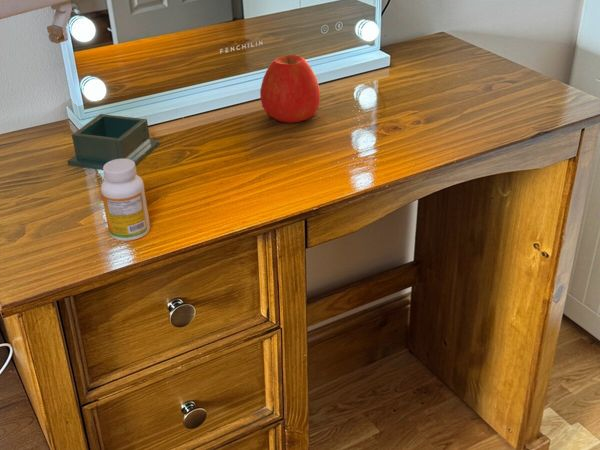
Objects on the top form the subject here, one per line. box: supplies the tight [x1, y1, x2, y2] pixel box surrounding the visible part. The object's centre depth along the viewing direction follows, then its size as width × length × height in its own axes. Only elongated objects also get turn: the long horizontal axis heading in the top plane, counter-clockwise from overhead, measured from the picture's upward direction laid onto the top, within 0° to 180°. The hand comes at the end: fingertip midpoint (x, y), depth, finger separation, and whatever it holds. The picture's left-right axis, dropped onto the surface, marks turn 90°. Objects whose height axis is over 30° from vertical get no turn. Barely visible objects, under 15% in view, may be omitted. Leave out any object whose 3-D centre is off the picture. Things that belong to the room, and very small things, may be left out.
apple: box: [259, 54, 321, 124], centre depth 130 cm, size 10×10×10 cm
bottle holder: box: [66, 113, 160, 171], centre depth 120 cm, size 10×10×5 cm
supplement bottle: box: [100, 159, 151, 242], centre depth 98 cm, size 5×5×10 cm
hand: (24, 52), depth 87 cm, fingers open, 8 cm apart
